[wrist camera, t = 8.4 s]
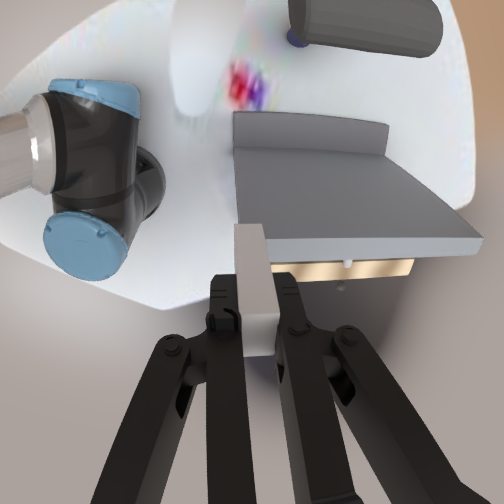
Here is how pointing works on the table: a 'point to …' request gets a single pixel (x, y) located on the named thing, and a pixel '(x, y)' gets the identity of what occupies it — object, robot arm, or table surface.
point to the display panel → (337, 193)
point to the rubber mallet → (368, 25)
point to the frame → (344, 269)
